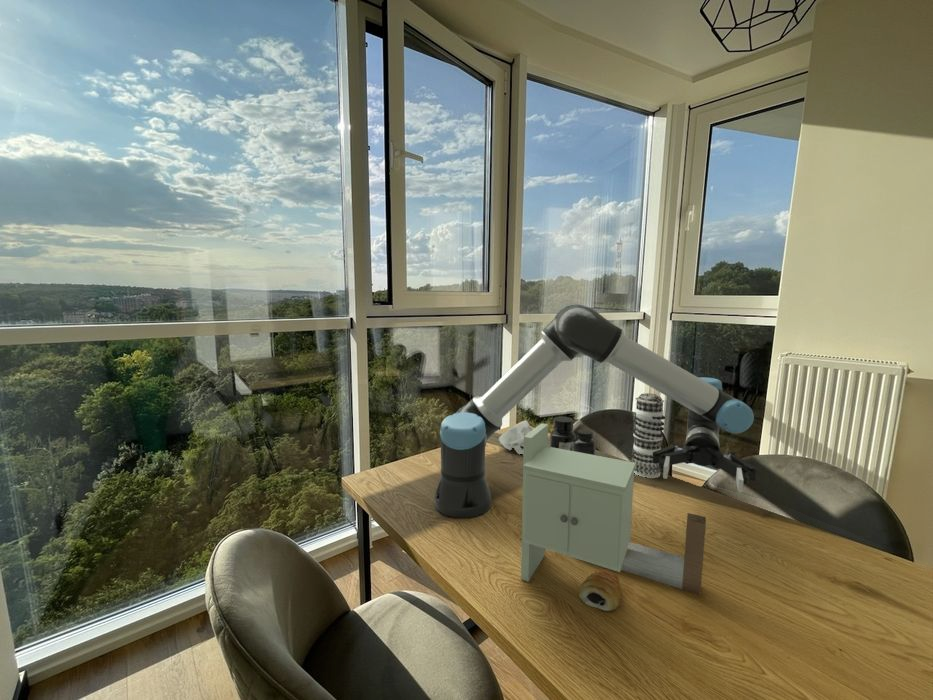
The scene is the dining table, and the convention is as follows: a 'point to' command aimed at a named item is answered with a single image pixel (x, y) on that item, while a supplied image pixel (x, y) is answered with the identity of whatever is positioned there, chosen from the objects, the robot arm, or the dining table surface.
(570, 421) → the ink bottle
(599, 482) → the green cabinet
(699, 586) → the l-shaped try square
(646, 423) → the decorative candle
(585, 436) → the supplement bottle
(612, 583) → the pastry
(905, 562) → the dining table surface
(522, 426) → the skull bowl
